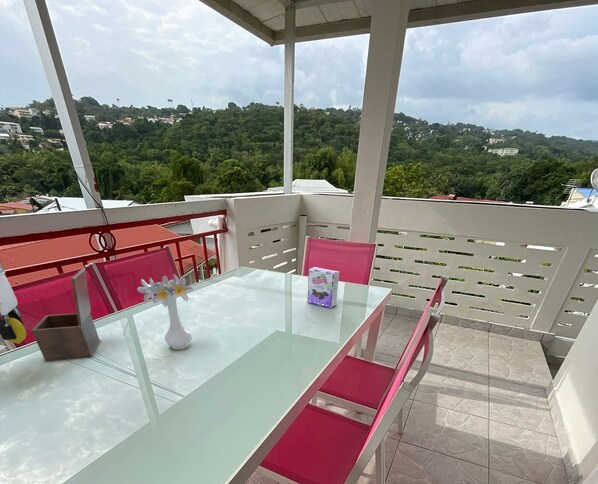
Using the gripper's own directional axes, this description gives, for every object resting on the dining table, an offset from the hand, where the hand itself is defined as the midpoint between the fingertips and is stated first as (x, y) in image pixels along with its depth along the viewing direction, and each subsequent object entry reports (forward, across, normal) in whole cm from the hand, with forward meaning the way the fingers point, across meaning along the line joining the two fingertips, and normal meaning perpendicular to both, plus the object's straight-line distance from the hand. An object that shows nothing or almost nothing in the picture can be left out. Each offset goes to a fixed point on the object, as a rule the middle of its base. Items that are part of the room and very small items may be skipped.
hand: (14, 334), depth 94 cm
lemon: (+3, 0, 0) cm, 3 cm away
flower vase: (+13, -12, +42) cm, 46 cm away
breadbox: (+14, -17, +7) cm, 23 cm away
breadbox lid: (-5, -17, +14) cm, 23 cm away
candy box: (+11, -46, +110) cm, 120 cm away
